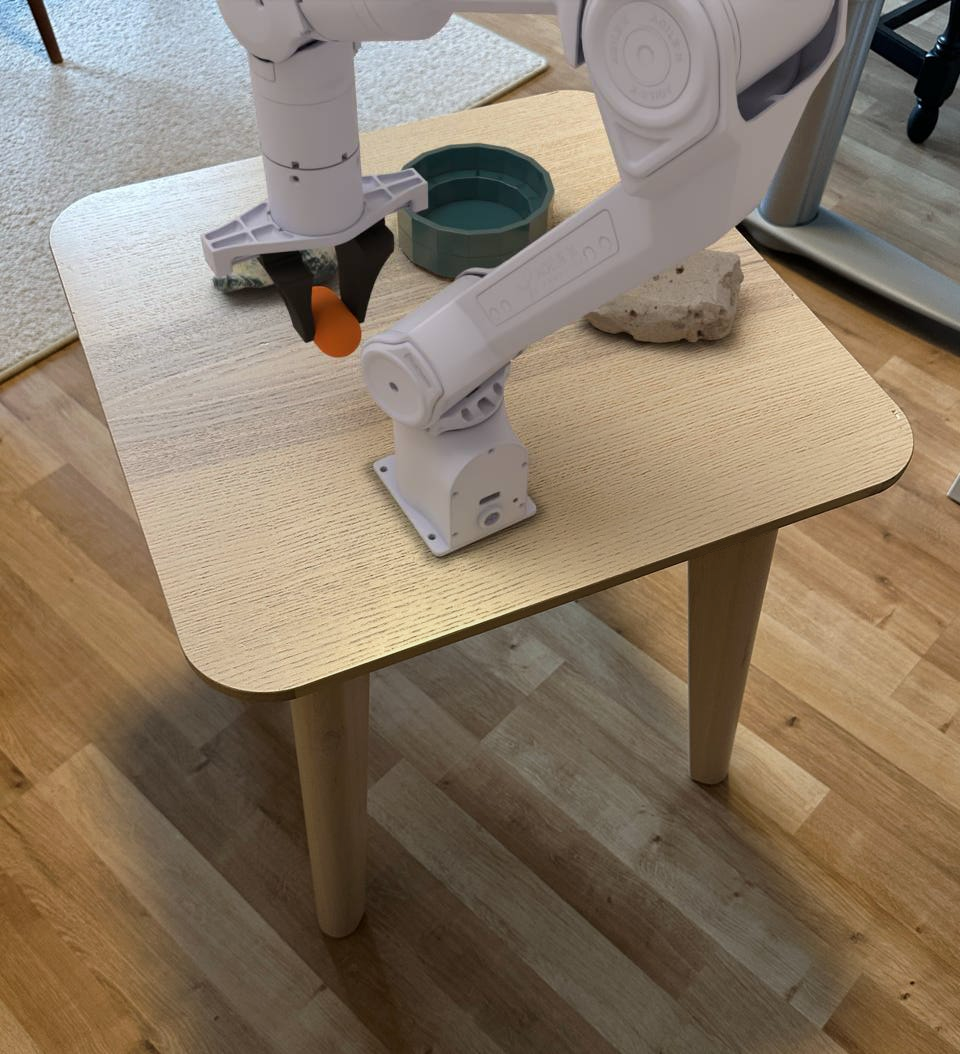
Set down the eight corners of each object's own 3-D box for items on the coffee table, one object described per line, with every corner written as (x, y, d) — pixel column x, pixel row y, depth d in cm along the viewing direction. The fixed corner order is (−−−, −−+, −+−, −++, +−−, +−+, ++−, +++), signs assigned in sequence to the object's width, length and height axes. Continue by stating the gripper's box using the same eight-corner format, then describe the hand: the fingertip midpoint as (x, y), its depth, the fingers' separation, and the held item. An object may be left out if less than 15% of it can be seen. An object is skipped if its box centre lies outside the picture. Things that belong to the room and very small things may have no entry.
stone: (571, 265, 91) (574, 349, 85) (585, 208, 86) (588, 293, 80) (725, 283, 92) (738, 367, 86) (746, 227, 87) (762, 312, 81)
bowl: (578, 254, 92) (584, 204, 88) (444, 303, 88) (443, 252, 84) (499, 178, 100) (500, 128, 96) (371, 219, 95) (367, 169, 91)
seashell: (227, 275, 92) (367, 273, 92) (209, 297, 86) (361, 294, 86) (218, 198, 90) (363, 196, 90) (199, 214, 83) (356, 212, 83)
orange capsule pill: (371, 357, 73) (368, 321, 71) (328, 373, 72) (324, 337, 70) (331, 307, 76) (327, 271, 74) (290, 322, 75) (285, 285, 73)
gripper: (387, 80, 67) (395, 259, 78) (165, 142, 62) (206, 324, 73) (444, 134, 64) (444, 315, 74) (213, 205, 59) (248, 388, 69)
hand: (329, 324), depth 73 cm, fingers closed on orange capsule pill, 3 cm apart
